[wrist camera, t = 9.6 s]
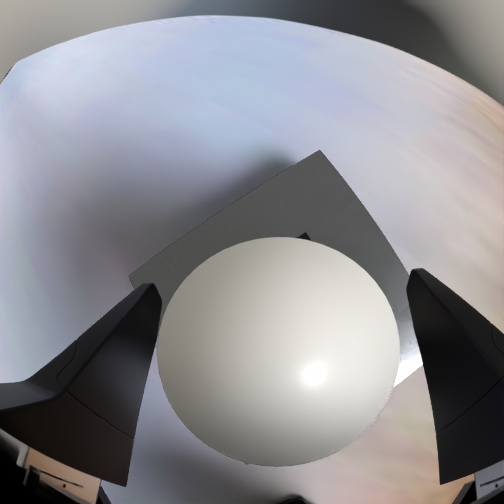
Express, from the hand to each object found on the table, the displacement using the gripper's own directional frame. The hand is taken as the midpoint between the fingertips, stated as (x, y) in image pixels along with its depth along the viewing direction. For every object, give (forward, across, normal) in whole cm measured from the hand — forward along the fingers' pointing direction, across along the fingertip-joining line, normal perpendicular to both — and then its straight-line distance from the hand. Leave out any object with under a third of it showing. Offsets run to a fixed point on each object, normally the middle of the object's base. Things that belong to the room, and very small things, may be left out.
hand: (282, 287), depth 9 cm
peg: (+5, 0, +7) cm, 9 cm away
